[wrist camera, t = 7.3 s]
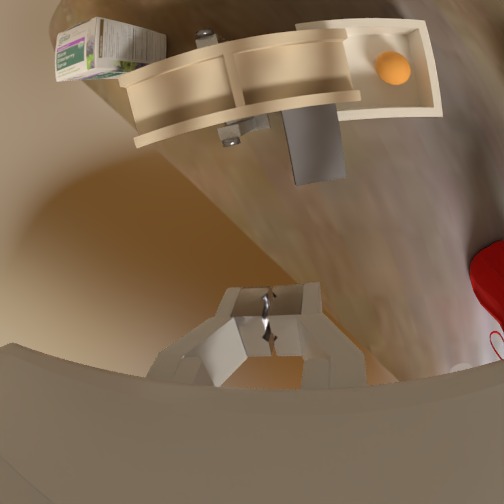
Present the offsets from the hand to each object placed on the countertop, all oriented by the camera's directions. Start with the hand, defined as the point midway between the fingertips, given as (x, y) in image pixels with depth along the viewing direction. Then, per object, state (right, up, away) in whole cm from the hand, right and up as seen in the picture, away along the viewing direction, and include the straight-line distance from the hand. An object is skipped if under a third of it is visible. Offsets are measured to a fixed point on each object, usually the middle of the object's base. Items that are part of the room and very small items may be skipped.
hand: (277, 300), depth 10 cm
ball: (+14, +21, +13) cm, 29 cm away
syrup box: (-14, +27, +20) cm, 37 cm away
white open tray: (+12, +22, +16) cm, 30 cm away
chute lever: (-1, +16, +19) cm, 25 cm away
